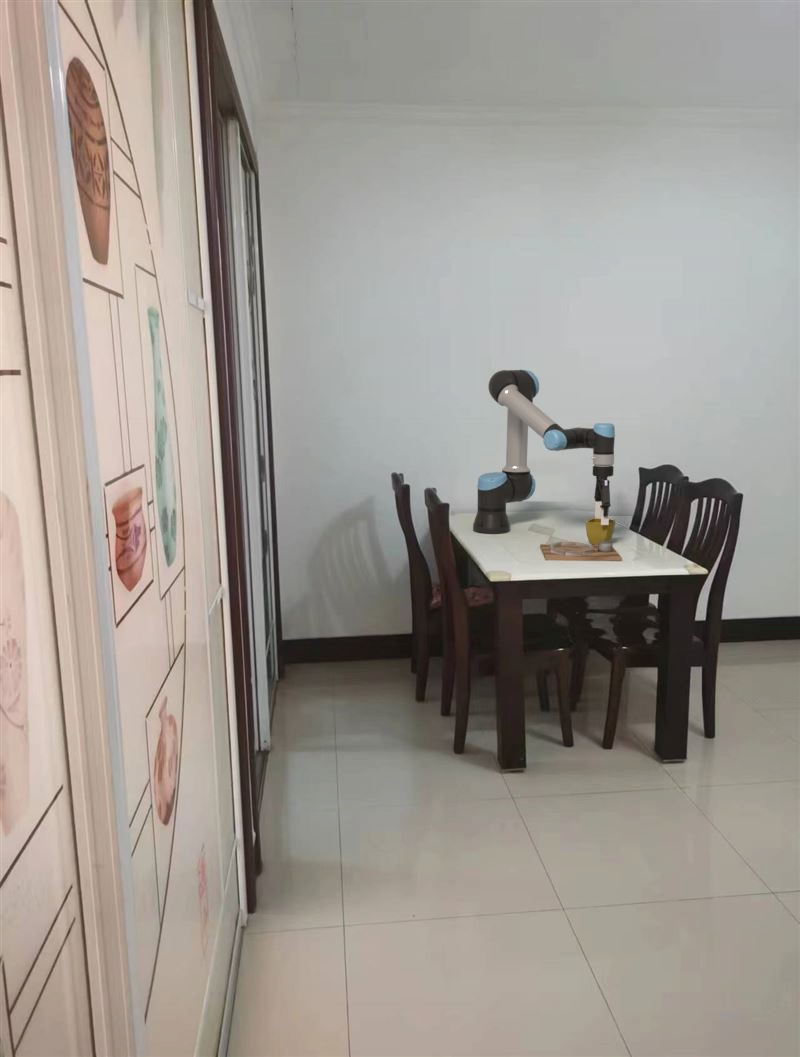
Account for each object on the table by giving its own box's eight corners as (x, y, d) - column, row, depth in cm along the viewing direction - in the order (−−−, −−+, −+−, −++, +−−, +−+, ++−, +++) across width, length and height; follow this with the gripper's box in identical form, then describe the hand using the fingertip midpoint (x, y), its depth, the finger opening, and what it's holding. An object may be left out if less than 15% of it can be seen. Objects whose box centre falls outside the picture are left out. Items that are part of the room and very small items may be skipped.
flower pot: (614, 543, 302) (616, 520, 300) (606, 547, 295) (607, 523, 293) (592, 540, 307) (593, 517, 305) (584, 544, 300) (585, 521, 298)
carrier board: (540, 547, 296) (540, 536, 295) (611, 548, 294) (611, 537, 293) (545, 560, 277) (545, 548, 276) (621, 561, 275) (622, 549, 274)
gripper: (587, 461, 308) (586, 515, 312) (598, 469, 283) (596, 527, 287) (607, 461, 307) (605, 515, 311) (620, 469, 283) (618, 527, 287)
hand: (601, 521), depth 299 cm, fingers open, 13 cm apart
